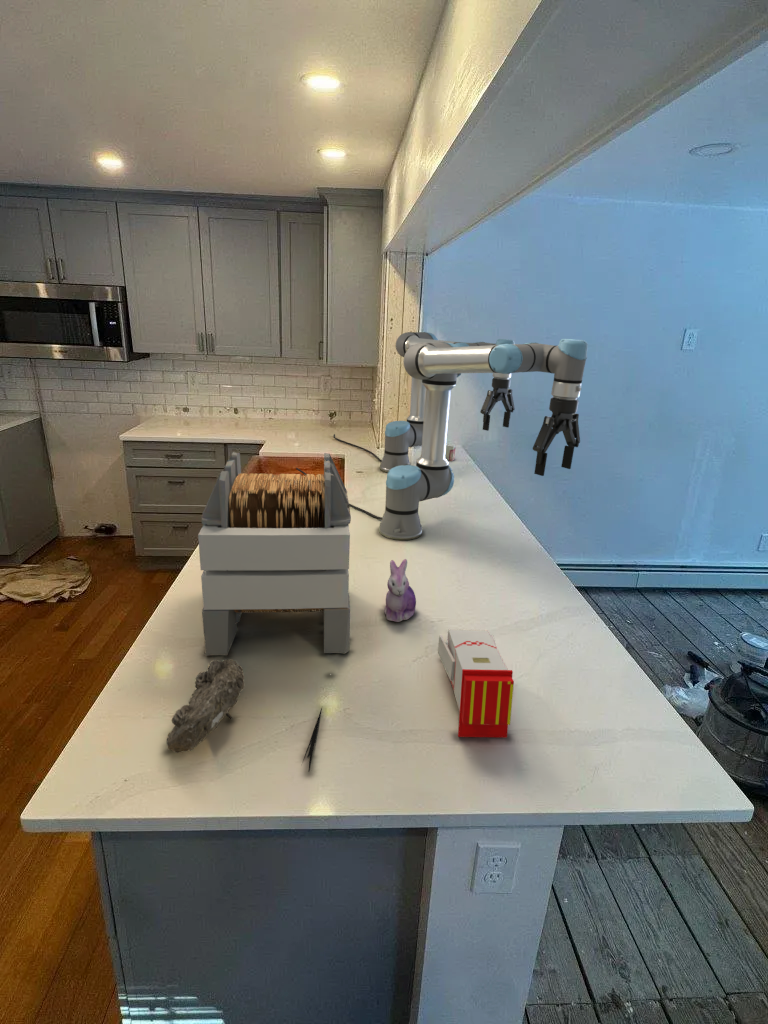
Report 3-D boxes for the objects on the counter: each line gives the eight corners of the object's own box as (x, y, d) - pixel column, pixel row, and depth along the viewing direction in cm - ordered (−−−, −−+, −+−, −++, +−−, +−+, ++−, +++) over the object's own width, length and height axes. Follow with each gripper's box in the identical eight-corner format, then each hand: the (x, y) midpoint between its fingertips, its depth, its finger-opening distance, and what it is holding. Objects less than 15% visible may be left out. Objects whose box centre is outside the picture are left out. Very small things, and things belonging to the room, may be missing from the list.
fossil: (192, 660, 117) (244, 628, 112) (224, 691, 120) (276, 661, 115) (142, 746, 98) (202, 712, 93) (182, 779, 101) (242, 748, 96)
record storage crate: (226, 586, 157) (217, 442, 143) (344, 585, 161) (346, 445, 147) (202, 658, 125) (189, 482, 112) (350, 654, 129) (354, 483, 115)
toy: (488, 613, 130) (523, 677, 101) (484, 667, 133) (517, 744, 104) (435, 612, 130) (455, 676, 101) (432, 666, 133) (451, 743, 103)
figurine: (392, 627, 141) (395, 572, 136) (374, 608, 149) (376, 556, 144) (425, 619, 145) (429, 566, 140) (405, 601, 154) (408, 550, 149)
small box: (452, 461, 300) (453, 446, 297) (444, 460, 301) (445, 445, 298) (454, 459, 304) (456, 444, 301) (446, 458, 305) (448, 443, 303)
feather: (331, 679, 122) (336, 673, 122) (307, 777, 96) (313, 769, 95) (324, 675, 122) (329, 669, 121) (298, 772, 95) (304, 764, 95)
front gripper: (550, 403, 147) (538, 481, 154) (600, 396, 162) (587, 468, 170) (526, 398, 152) (515, 474, 159) (577, 392, 167) (565, 462, 175)
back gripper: (489, 380, 226) (483, 433, 233) (527, 377, 241) (520, 427, 249) (475, 378, 231) (469, 429, 238) (512, 375, 247) (506, 424, 254)
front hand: (552, 471), depth 164 cm, fingers open, 13 cm apart
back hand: (495, 428), depth 243 cm, fingers open, 13 cm apart
